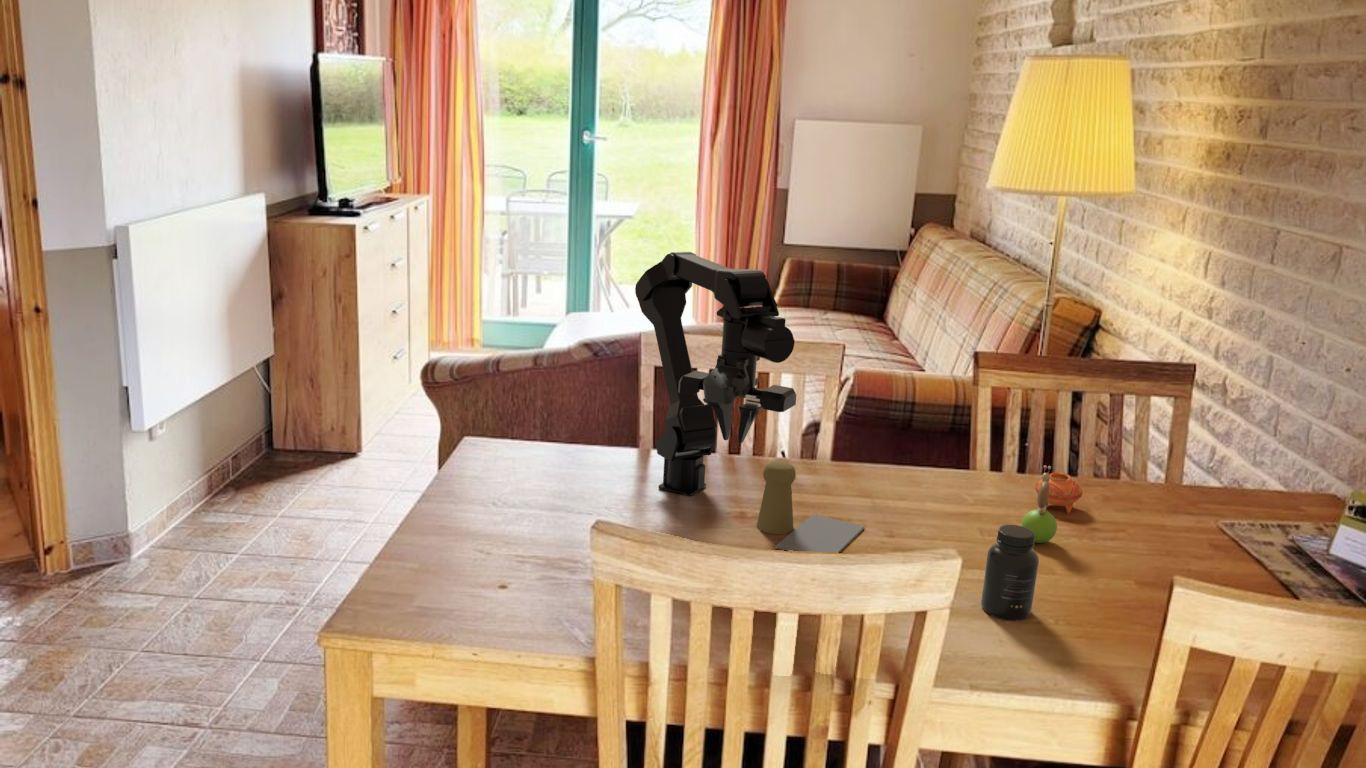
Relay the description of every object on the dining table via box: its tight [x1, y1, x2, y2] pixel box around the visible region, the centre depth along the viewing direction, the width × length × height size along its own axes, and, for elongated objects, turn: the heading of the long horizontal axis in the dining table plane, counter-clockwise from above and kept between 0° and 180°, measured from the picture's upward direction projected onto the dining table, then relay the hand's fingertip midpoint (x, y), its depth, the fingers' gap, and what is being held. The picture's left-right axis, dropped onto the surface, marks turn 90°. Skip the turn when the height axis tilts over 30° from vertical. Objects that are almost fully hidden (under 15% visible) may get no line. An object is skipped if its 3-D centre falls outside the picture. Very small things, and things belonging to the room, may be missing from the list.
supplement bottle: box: [980, 524, 1040, 621], centre depth 148 cm, size 7×7×12 cm
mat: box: [775, 513, 865, 553], centre depth 171 cm, size 9×16×1 cm, turn 152°
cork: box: [756, 460, 796, 535], centre depth 173 cm, size 6×6×11 cm
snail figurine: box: [1021, 465, 1058, 544], centre depth 173 cm, size 5×6×12 cm
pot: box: [1034, 471, 1083, 514], centre depth 190 cm, size 8×8×7 cm
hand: (733, 441), depth 175 cm, fingers open, 2 cm apart
